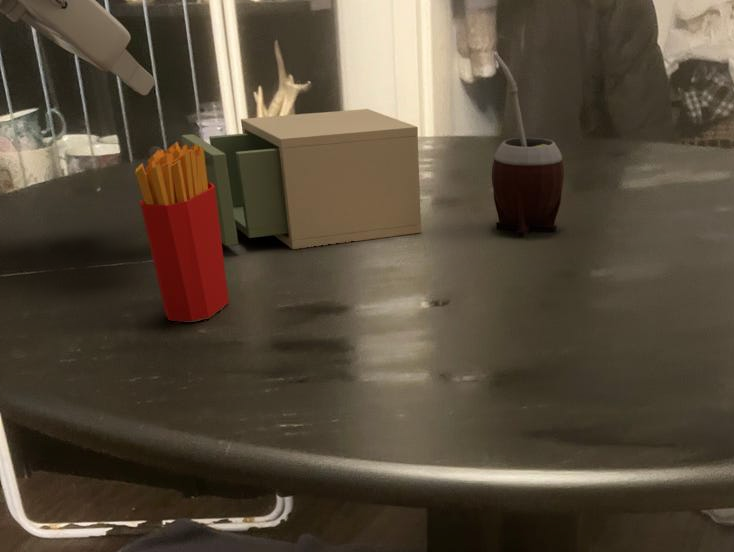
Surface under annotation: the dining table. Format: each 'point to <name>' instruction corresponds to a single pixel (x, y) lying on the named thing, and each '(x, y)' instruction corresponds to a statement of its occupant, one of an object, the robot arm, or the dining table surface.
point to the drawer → (244, 184)
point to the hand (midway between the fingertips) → (147, 87)
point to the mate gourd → (526, 177)
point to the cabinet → (344, 175)
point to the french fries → (183, 232)
